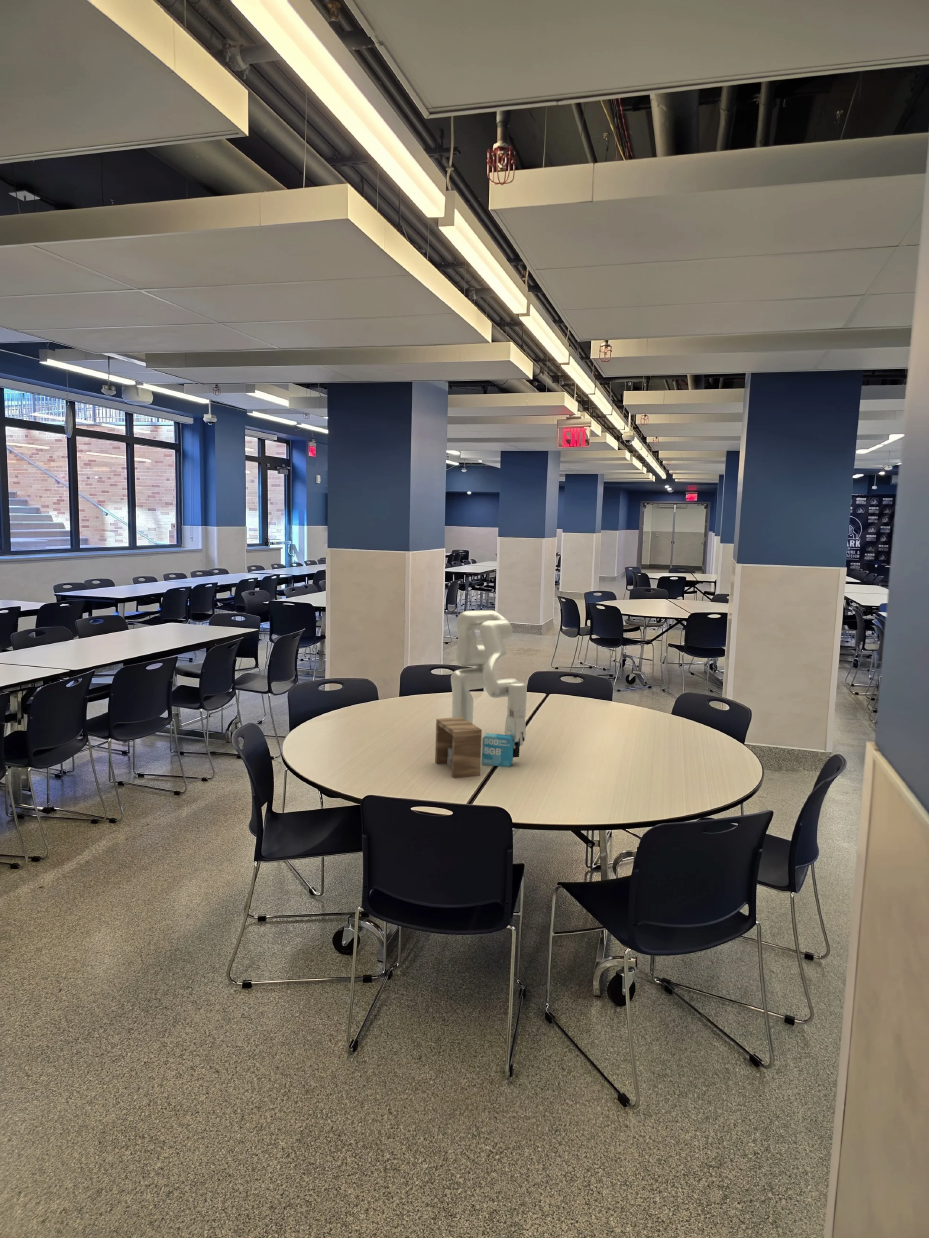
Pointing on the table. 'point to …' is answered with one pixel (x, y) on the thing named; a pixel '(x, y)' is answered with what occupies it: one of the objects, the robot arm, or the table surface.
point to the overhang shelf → (458, 746)
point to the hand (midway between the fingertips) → (514, 756)
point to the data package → (497, 750)
